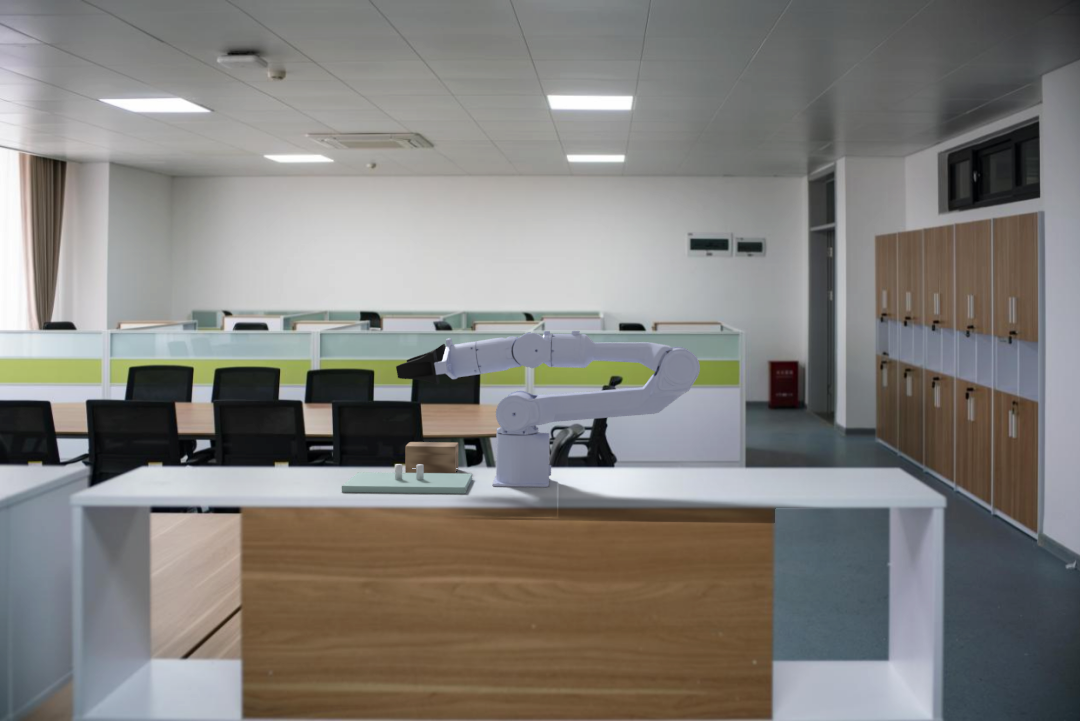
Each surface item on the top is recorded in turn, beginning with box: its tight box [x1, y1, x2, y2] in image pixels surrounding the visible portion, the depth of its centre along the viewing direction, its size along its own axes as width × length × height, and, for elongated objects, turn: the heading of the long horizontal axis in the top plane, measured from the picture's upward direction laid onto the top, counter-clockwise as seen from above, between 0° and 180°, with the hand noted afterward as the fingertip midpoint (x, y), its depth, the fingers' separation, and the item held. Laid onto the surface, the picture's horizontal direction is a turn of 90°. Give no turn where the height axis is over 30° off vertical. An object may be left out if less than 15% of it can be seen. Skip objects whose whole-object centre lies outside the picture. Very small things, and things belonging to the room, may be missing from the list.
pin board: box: [341, 463, 473, 494], centre depth 150 cm, size 20×12×4 cm, turn 89°
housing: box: [404, 441, 459, 473], centre depth 163 cm, size 9×5×5 cm, turn 89°
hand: (402, 368), depth 154 cm, fingers open, 7 cm apart
